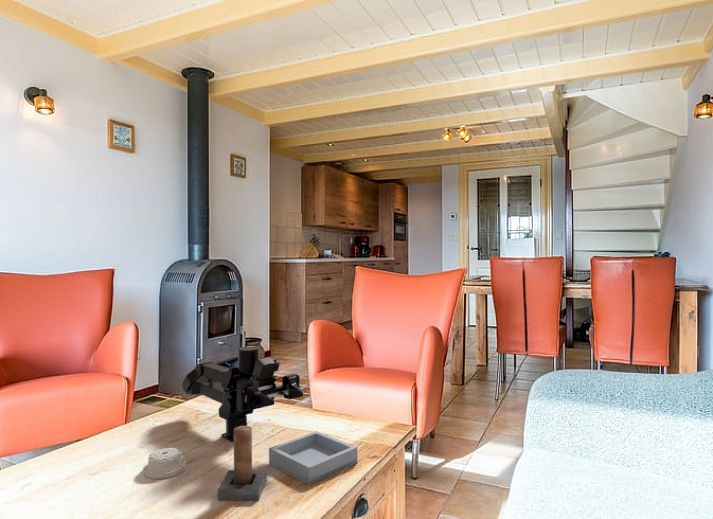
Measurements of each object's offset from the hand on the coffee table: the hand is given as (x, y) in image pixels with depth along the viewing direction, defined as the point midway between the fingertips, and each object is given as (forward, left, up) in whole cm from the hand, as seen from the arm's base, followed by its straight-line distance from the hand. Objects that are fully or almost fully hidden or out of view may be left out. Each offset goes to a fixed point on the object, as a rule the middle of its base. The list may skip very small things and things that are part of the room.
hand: (288, 398), depth 122 cm
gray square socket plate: (+4, -16, -17) cm, 23 cm away
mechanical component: (-19, -24, -17) cm, 35 cm away
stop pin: (+4, -16, -17) cm, 23 cm away
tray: (+5, +4, -17) cm, 18 cm away
